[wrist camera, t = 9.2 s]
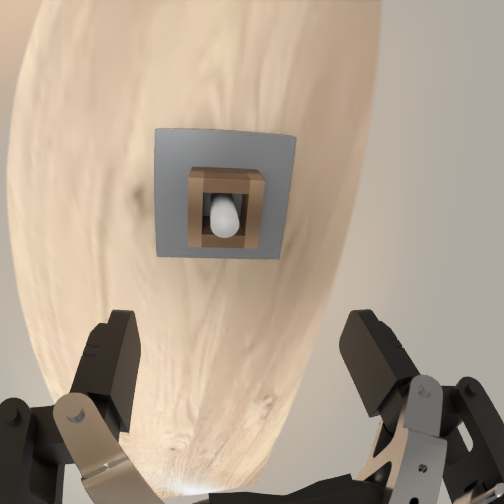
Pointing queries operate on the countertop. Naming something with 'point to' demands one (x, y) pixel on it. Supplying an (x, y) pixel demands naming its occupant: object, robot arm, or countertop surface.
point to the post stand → (219, 204)
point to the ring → (225, 182)
